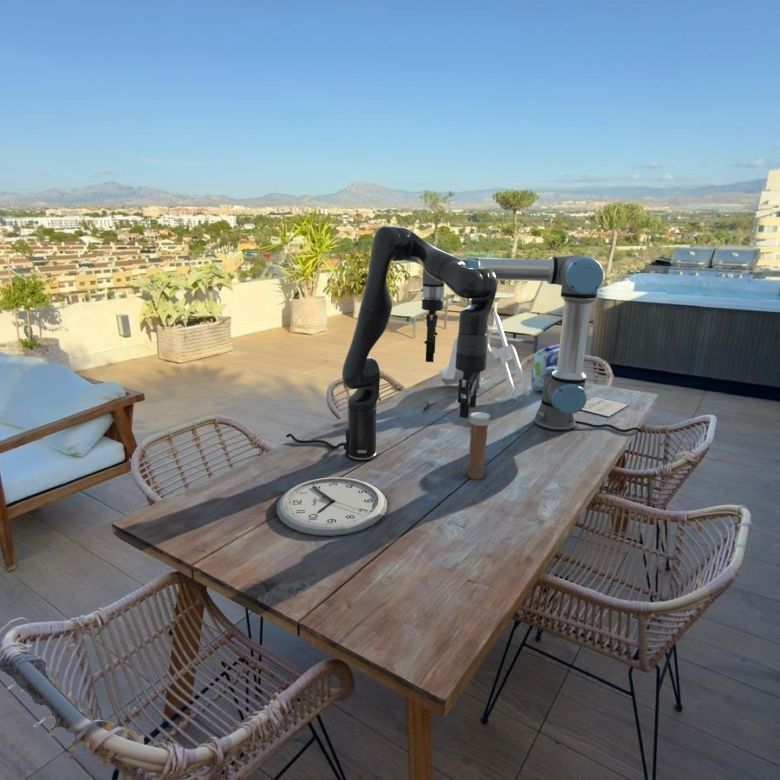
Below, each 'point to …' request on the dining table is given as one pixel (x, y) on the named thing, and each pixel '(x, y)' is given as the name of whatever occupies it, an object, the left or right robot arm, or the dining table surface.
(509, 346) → the white plastic object
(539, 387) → the lunch box
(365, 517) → the wall clock
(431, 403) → the fork
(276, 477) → the dining table surface
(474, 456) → the brown tube
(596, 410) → the invitation card
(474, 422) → the lid
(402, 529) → the dining table surface
